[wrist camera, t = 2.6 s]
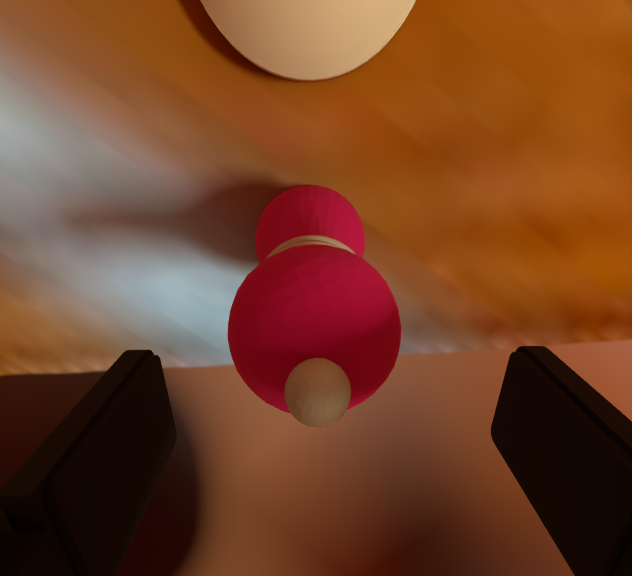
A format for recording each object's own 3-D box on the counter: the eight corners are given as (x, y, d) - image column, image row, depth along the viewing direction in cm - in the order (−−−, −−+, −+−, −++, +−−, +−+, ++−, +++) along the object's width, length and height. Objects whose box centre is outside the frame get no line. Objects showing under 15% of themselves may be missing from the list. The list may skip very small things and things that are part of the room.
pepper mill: (294, 284, 29) (276, 543, 10) (244, 210, 26) (98, 377, 8) (370, 241, 27) (507, 449, 9) (326, 159, 25) (388, 210, 6)
